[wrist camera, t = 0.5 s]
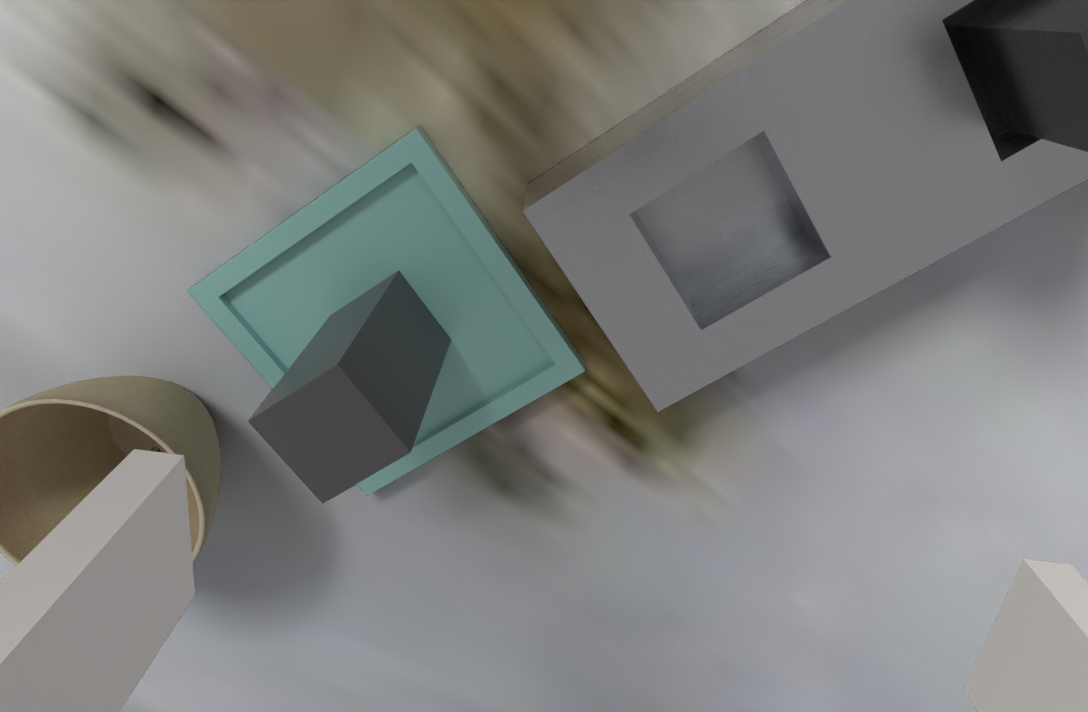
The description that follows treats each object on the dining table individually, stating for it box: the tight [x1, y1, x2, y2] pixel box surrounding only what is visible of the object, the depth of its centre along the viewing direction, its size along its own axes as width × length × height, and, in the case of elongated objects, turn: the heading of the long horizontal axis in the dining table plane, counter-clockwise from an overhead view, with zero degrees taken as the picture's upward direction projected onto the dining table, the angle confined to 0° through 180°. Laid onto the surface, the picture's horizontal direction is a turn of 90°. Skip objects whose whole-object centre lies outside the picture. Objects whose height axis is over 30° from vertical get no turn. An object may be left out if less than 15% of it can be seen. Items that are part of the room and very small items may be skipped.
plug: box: [248, 270, 451, 503], centre depth 31 cm, size 4×4×10 cm
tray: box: [187, 125, 585, 496], centre depth 36 cm, size 13×13×1 cm
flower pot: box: [0, 376, 221, 566], centre depth 36 cm, size 10×10×7 cm
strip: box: [523, 0, 1088, 412], centre depth 25 cm, size 21×24×11 cm
